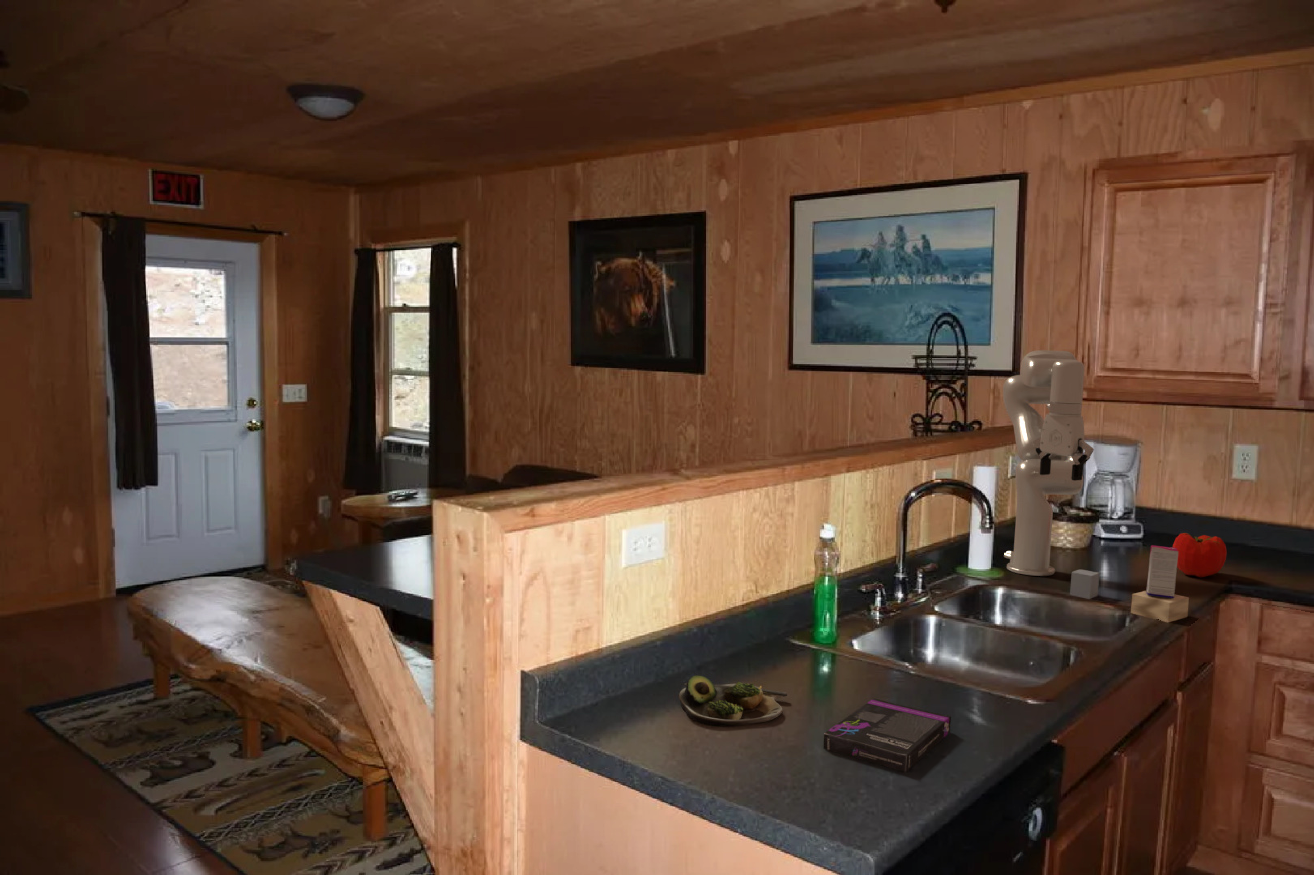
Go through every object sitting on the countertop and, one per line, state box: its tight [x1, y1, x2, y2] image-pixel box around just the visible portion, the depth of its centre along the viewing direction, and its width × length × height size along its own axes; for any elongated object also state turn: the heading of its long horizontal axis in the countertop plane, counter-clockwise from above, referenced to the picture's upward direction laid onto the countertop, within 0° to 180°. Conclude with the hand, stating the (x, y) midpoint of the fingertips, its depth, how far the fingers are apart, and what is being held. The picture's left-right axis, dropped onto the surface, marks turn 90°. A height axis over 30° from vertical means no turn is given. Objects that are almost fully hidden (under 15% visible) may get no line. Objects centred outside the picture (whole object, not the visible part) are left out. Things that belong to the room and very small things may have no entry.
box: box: [823, 698, 952, 773], centre depth 161 cm, size 14×4×20 cm
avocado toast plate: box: [678, 674, 788, 727], centre depth 174 cm, size 19×18×5 cm
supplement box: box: [1145, 544, 1178, 598], centre depth 239 cm, size 6×6×12 cm
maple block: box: [1130, 590, 1190, 623], centre depth 239 cm, size 9×9×5 cm
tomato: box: [1172, 532, 1228, 578], centre depth 281 cm, size 13×14×12 cm
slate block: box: [1069, 568, 1100, 600], centre depth 255 cm, size 5×5×6 cm
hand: (1060, 477), depth 253 cm, fingers open, 9 cm apart
